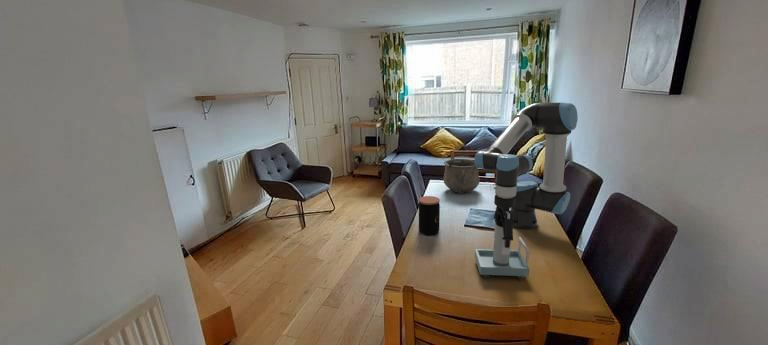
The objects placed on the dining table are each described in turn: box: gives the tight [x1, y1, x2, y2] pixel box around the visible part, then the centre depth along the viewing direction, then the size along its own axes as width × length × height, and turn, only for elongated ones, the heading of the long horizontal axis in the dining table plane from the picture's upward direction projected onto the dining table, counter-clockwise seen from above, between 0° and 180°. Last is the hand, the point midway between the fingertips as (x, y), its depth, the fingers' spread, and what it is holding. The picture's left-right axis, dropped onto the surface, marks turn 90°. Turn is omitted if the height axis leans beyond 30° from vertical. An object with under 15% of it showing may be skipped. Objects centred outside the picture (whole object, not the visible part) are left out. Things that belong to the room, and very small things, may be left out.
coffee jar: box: [418, 195, 441, 237], centre depth 163 cm, size 11×11×18 cm
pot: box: [443, 158, 481, 193], centre depth 224 cm, size 25×24×21 cm
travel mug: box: [493, 215, 513, 266], centre depth 126 cm, size 6×7×20 cm
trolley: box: [474, 236, 531, 281], centre depth 128 cm, size 18×14×12 cm
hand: (501, 245), depth 126 cm, fingers open, 13 cm apart
